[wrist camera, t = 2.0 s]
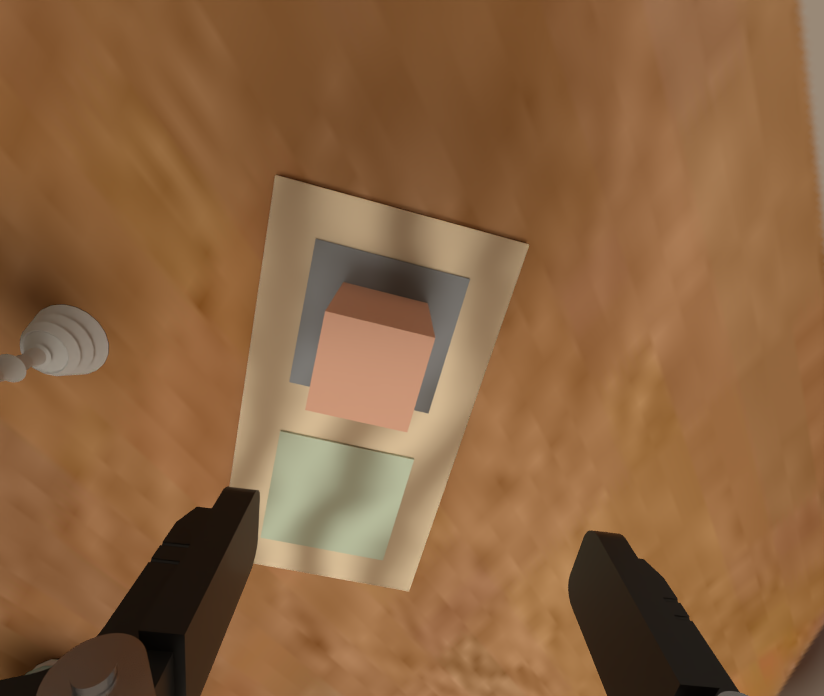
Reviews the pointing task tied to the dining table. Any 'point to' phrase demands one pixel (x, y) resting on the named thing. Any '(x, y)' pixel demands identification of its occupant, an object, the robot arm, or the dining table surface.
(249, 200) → the dining table surface
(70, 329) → the chalice
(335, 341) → the terracotta block
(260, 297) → the board
